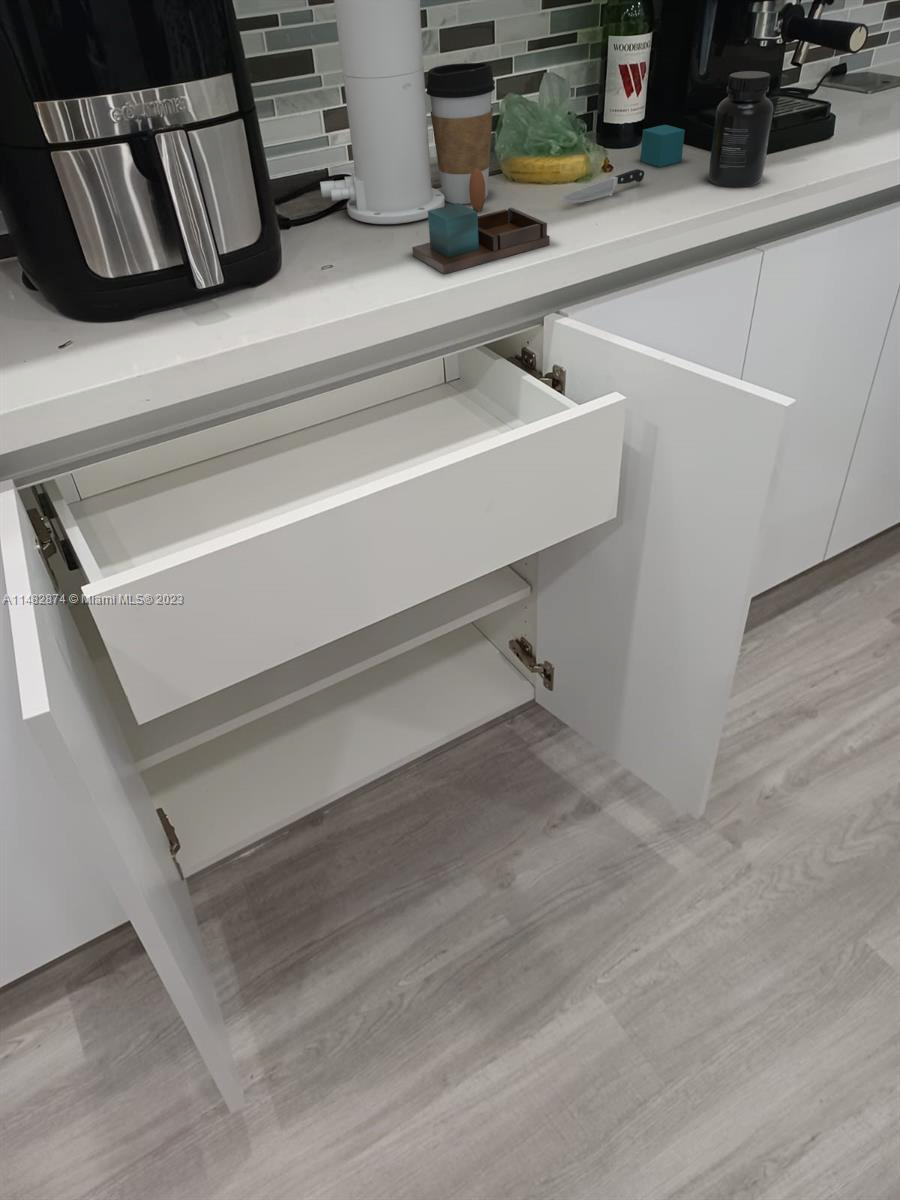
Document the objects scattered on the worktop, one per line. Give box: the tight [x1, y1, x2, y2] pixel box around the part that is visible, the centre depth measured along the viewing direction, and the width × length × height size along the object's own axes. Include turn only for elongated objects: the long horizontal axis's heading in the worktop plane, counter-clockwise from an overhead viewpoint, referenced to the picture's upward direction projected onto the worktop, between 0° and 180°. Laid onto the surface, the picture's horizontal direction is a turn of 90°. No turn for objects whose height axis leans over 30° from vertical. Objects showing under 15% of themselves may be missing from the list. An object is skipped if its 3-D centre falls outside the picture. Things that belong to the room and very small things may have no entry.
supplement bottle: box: [707, 70, 774, 188], centre depth 109 cm, size 7×7×12 cm
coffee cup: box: [425, 62, 496, 205], centre depth 109 cm, size 8×8×15 cm
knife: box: [559, 168, 645, 204], centre depth 110 cm, size 15×1×2 cm, turn 128°
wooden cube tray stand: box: [411, 203, 551, 275], centre depth 98 cm, size 14×7×5 cm, turn 120°
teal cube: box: [639, 124, 686, 168], centre depth 120 cm, size 4×4×4 cm
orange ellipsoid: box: [469, 168, 486, 212], centre depth 108 cm, size 2×2×5 cm
